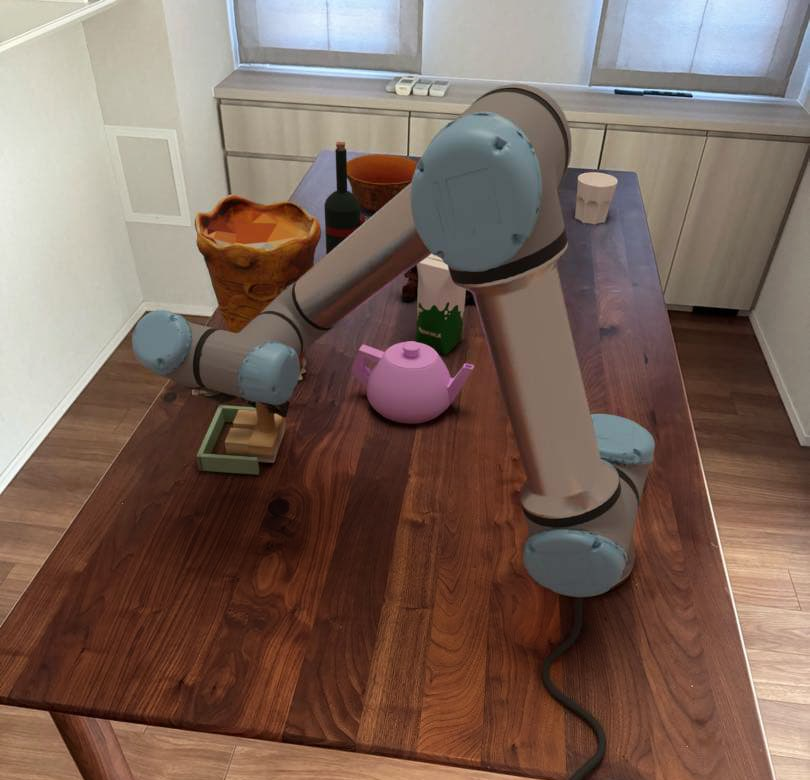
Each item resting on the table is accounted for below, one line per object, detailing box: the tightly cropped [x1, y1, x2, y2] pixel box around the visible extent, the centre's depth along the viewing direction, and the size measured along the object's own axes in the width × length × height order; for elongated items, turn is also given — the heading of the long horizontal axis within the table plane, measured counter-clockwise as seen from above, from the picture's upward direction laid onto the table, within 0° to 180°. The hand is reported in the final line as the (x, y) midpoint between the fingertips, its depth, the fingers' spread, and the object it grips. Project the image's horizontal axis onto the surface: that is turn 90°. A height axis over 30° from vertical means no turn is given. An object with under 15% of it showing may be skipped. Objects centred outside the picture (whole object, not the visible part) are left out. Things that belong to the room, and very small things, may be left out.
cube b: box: [232, 410, 257, 430], centre depth 135 cm, size 4×4×4 cm
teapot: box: [350, 340, 475, 425], centre depth 141 cm, size 22×16×12 cm
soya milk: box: [414, 254, 466, 357], centre depth 154 cm, size 9×9×20 cm
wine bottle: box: [323, 141, 366, 256], centre depth 168 cm, size 8×10×30 cm
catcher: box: [196, 404, 260, 476], centre depth 134 cm, size 15×10×3 cm
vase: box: [194, 194, 322, 381], centre depth 141 cm, size 21×20×30 cm
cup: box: [574, 172, 618, 225], centre depth 206 cm, size 10×10×10 cm
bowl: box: [347, 153, 418, 212], centre depth 208 cm, size 21×21×10 cm
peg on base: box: [248, 402, 287, 464], centre depth 129 cm, size 10×4×14 cm, turn 174°
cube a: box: [224, 427, 254, 457], centre depth 131 cm, size 4×4×4 cm
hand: (276, 407), depth 133 cm, fingers closed on peg on base, 3 cm apart
